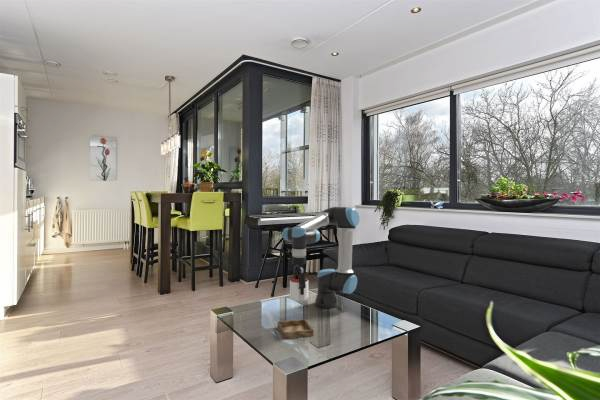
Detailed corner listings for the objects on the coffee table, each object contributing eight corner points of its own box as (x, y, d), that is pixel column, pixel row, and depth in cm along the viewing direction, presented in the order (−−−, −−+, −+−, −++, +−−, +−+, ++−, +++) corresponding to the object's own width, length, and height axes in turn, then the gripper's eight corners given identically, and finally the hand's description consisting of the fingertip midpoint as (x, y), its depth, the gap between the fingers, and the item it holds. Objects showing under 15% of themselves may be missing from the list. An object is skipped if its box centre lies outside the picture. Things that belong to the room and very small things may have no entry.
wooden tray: (305, 324, 200) (305, 319, 200) (313, 335, 184) (313, 330, 184) (277, 327, 196) (277, 321, 196) (283, 338, 181) (282, 333, 181)
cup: (306, 302, 184) (306, 283, 184) (288, 301, 186) (287, 282, 186) (309, 296, 194) (309, 278, 194) (291, 295, 196) (291, 277, 196)
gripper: (287, 253, 200) (287, 292, 200) (297, 260, 178) (297, 304, 178) (300, 252, 201) (300, 291, 202) (311, 259, 180) (311, 303, 180)
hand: (299, 297), depth 190 cm, fingers closed on cup, 10 cm apart
